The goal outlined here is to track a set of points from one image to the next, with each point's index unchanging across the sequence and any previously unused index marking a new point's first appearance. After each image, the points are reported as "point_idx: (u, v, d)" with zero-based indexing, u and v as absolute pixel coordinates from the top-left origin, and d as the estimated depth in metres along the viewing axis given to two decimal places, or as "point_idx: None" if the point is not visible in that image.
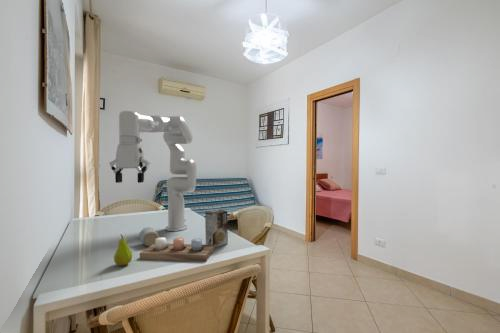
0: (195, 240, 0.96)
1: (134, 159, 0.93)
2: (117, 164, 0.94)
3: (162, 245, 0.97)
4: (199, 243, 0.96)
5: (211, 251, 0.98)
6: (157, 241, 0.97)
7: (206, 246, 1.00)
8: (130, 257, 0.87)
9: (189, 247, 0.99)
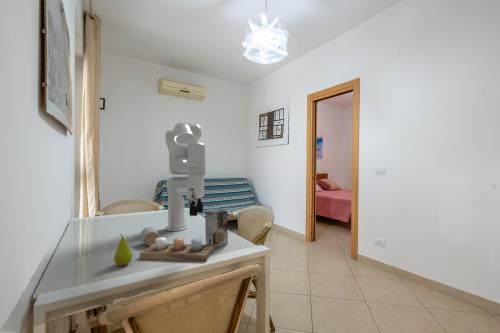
0: (195, 240, 0.96)
1: None
2: (198, 195, 0.93)
3: (162, 245, 0.97)
4: (199, 243, 0.96)
5: (211, 251, 0.98)
6: (157, 241, 0.97)
7: (206, 246, 1.00)
8: (130, 257, 0.87)
9: (189, 247, 0.99)
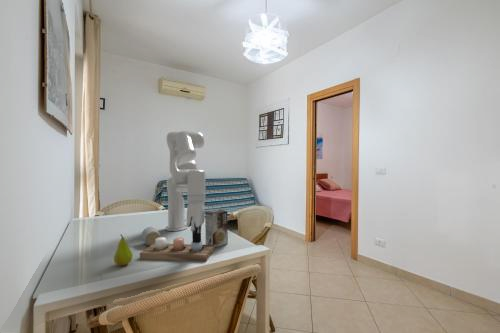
0: None
1: (204, 215, 1.00)
2: (198, 223, 0.93)
3: (162, 245, 0.97)
4: (199, 245, 0.96)
5: (211, 251, 0.98)
6: (157, 241, 0.97)
7: (206, 246, 1.00)
8: (130, 257, 0.87)
9: (189, 247, 0.99)
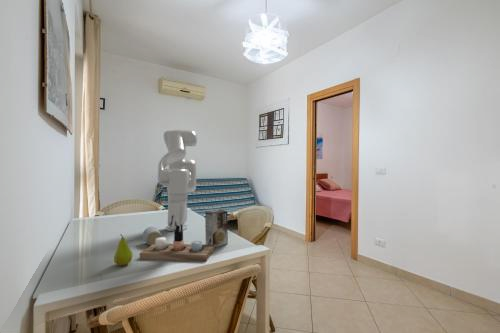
0: (195, 243, 0.96)
1: (186, 214, 1.01)
2: (179, 222, 0.94)
3: (162, 245, 0.97)
4: (199, 246, 0.96)
5: (211, 251, 0.98)
6: (157, 241, 0.97)
7: (206, 246, 1.00)
8: (130, 257, 0.87)
9: (189, 247, 0.99)
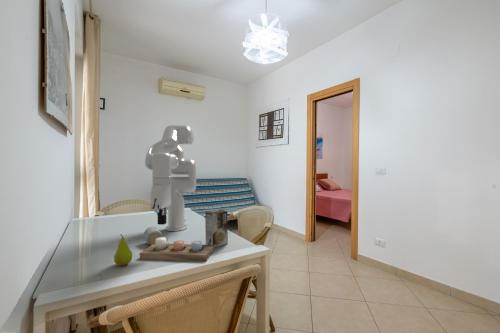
0: (195, 243, 0.96)
1: (170, 198, 1.02)
2: (162, 205, 0.95)
3: (162, 245, 0.97)
4: (199, 246, 0.96)
5: (211, 251, 0.98)
6: (157, 241, 0.97)
7: (206, 246, 1.00)
8: (130, 257, 0.87)
9: (189, 247, 0.99)
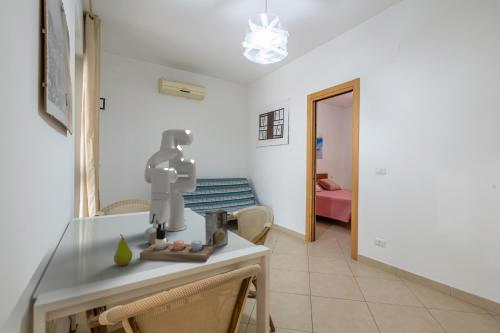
0: (195, 243, 0.96)
1: (169, 212, 1.02)
2: (160, 220, 0.95)
3: (162, 245, 0.97)
4: (199, 246, 0.96)
5: (211, 251, 0.98)
6: (157, 241, 0.97)
7: (206, 246, 1.00)
8: (130, 257, 0.87)
9: (189, 247, 0.99)
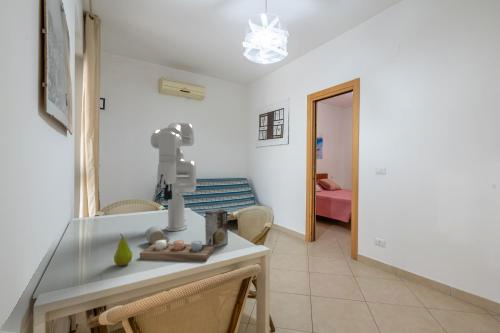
0: (195, 243, 0.96)
1: (175, 175, 1.08)
2: (168, 181, 1.00)
3: (162, 248, 0.97)
4: (199, 246, 0.96)
5: (211, 251, 0.98)
6: (157, 244, 0.97)
7: (206, 246, 1.00)
8: (130, 257, 0.87)
9: (189, 247, 0.99)
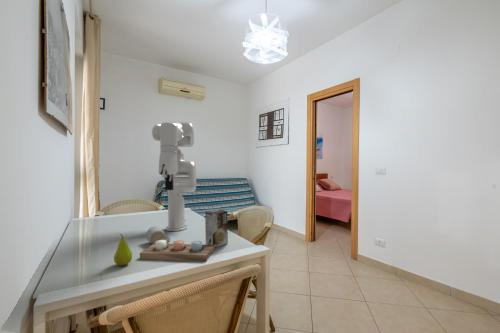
0: (195, 243, 0.96)
1: (177, 166, 1.08)
2: (169, 171, 1.01)
3: (162, 248, 0.97)
4: (199, 246, 0.96)
5: (211, 251, 0.98)
6: (157, 244, 0.97)
7: (206, 246, 1.00)
8: (130, 257, 0.87)
9: (189, 247, 0.99)
